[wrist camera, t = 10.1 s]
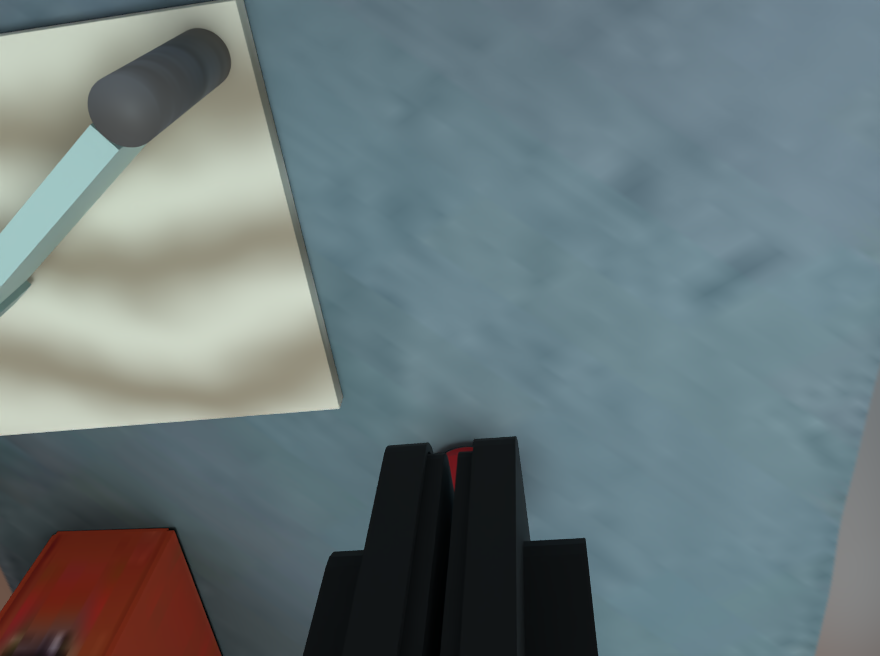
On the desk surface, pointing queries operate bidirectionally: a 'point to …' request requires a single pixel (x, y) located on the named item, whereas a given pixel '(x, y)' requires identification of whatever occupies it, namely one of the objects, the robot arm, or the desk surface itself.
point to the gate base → (157, 231)
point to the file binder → (107, 599)
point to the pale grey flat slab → (57, 209)
